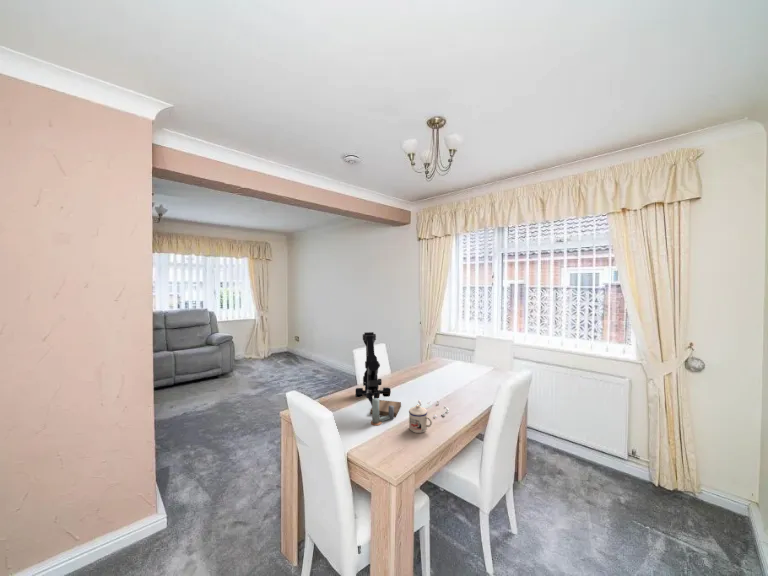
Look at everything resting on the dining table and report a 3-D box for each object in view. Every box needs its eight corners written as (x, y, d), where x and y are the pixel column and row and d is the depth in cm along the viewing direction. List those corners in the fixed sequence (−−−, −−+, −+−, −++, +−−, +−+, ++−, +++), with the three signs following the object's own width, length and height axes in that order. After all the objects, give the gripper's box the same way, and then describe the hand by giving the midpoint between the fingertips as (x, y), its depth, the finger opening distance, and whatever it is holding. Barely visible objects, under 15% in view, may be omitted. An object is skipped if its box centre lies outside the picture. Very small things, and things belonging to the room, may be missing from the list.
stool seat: (400, 406, 170) (400, 402, 170) (390, 427, 146) (390, 422, 146) (377, 403, 174) (377, 399, 174) (364, 424, 150) (364, 419, 150)
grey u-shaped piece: (391, 415, 158) (391, 394, 157) (395, 418, 154) (395, 396, 154) (371, 420, 152) (371, 398, 152) (374, 423, 149) (374, 401, 149)
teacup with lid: (405, 429, 144) (405, 406, 143) (414, 422, 151) (414, 400, 151) (427, 437, 137) (427, 412, 136) (436, 429, 144) (436, 405, 144)
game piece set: (407, 407, 171) (407, 400, 171) (437, 401, 178) (437, 395, 178) (424, 421, 153) (424, 414, 153) (456, 415, 160) (456, 408, 160)
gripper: (355, 373, 157) (355, 402, 146) (390, 372, 158) (392, 401, 148) (355, 382, 165) (355, 411, 154) (388, 382, 166) (390, 410, 156)
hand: (373, 408), depth 153 cm, fingers closed, pressing on grey u-shaped piece
